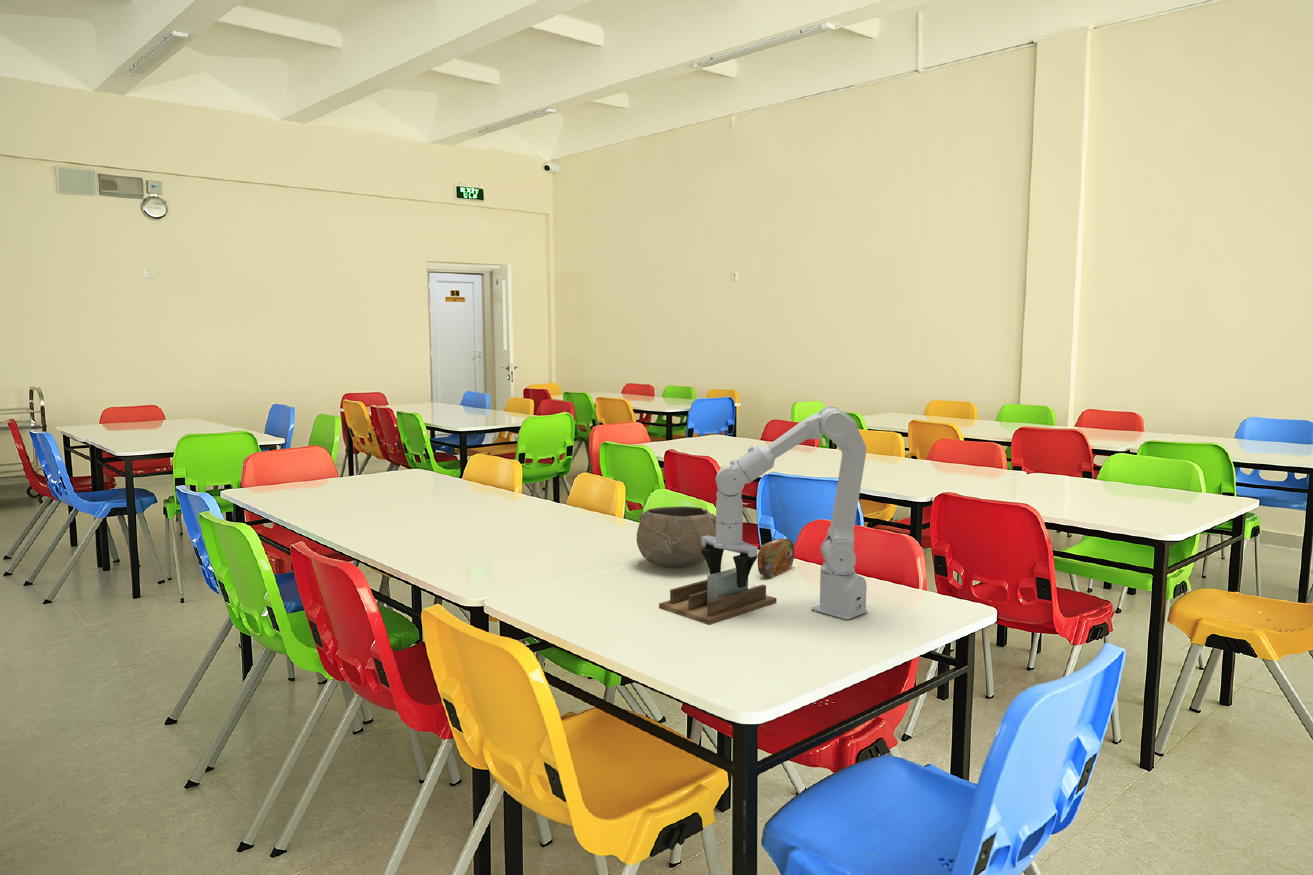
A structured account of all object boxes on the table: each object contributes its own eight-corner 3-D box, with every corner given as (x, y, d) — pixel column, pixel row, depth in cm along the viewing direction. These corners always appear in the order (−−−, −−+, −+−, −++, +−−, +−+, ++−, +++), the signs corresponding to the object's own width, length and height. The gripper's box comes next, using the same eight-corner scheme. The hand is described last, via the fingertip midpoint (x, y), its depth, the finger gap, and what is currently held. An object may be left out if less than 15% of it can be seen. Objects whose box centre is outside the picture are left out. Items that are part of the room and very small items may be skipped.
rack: (776, 602, 190) (776, 585, 190) (709, 624, 175) (709, 605, 174) (726, 588, 201) (726, 571, 200) (659, 607, 186) (659, 590, 185)
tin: (765, 581, 207) (766, 547, 206) (754, 578, 209) (755, 545, 208) (795, 568, 219) (795, 536, 218) (784, 566, 221) (785, 534, 220)
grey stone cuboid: (747, 600, 188) (748, 569, 187) (717, 610, 181) (717, 578, 180) (737, 597, 190) (738, 566, 189) (707, 606, 183) (707, 575, 183)
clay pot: (620, 565, 221) (620, 508, 219) (678, 552, 234) (678, 499, 233) (676, 582, 205) (676, 521, 203) (734, 567, 219) (735, 510, 217)
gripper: (692, 519, 186) (691, 579, 188) (742, 530, 176) (741, 593, 177) (714, 514, 191) (713, 573, 193) (764, 525, 181) (763, 587, 182)
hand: (728, 583), depth 185 cm, fingers open, 7 cm apart
